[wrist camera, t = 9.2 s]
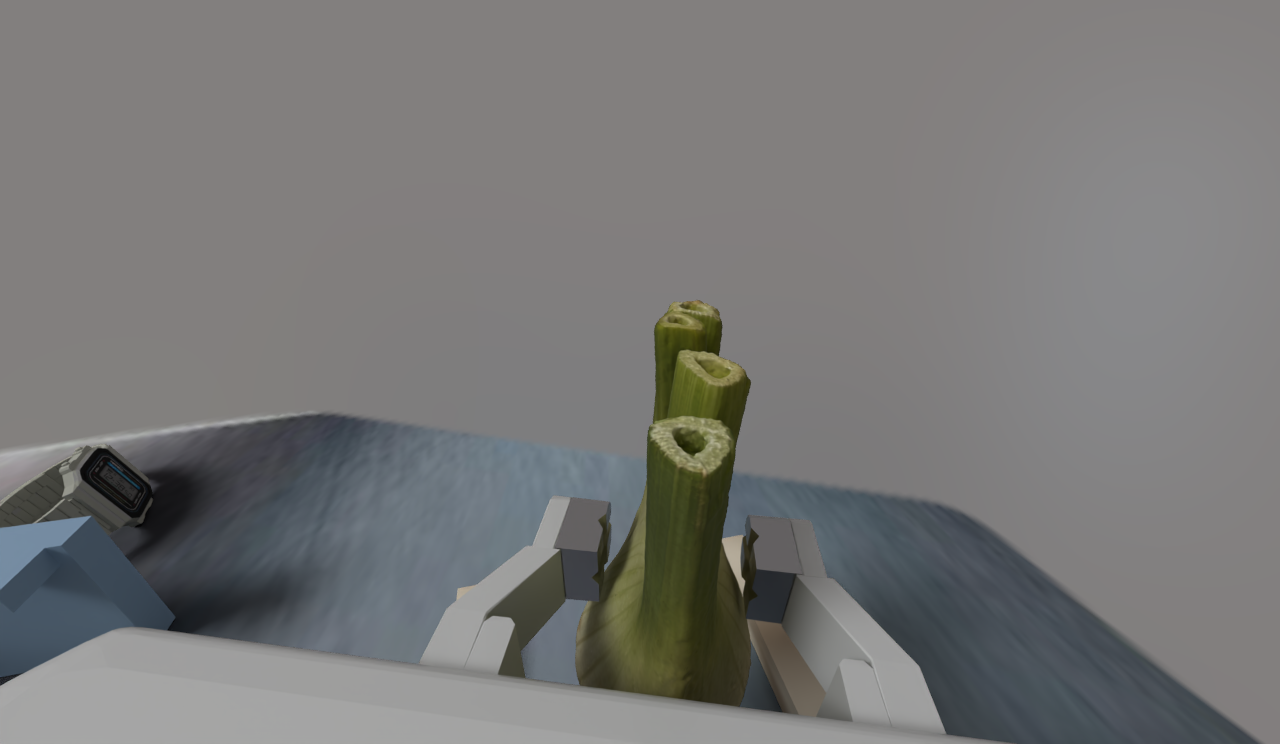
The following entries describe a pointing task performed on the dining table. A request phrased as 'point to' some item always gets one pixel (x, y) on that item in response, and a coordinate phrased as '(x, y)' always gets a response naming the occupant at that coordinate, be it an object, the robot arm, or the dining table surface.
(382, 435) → the dining table surface
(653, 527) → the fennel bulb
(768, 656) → the beige small bars
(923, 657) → the dining table surface
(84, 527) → the blue notched panel
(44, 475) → the wristwatch
